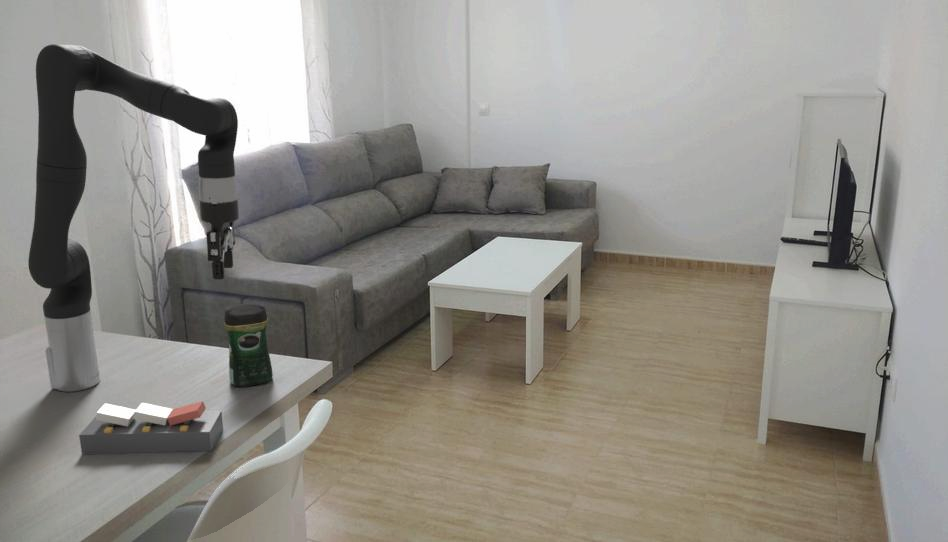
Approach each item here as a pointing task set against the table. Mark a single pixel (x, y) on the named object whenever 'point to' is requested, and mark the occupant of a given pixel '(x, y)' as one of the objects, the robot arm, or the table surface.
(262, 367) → the coffee jar
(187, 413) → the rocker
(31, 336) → the table surface
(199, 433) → the switch panel
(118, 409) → the rocker
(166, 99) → the robot arm
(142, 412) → the block
